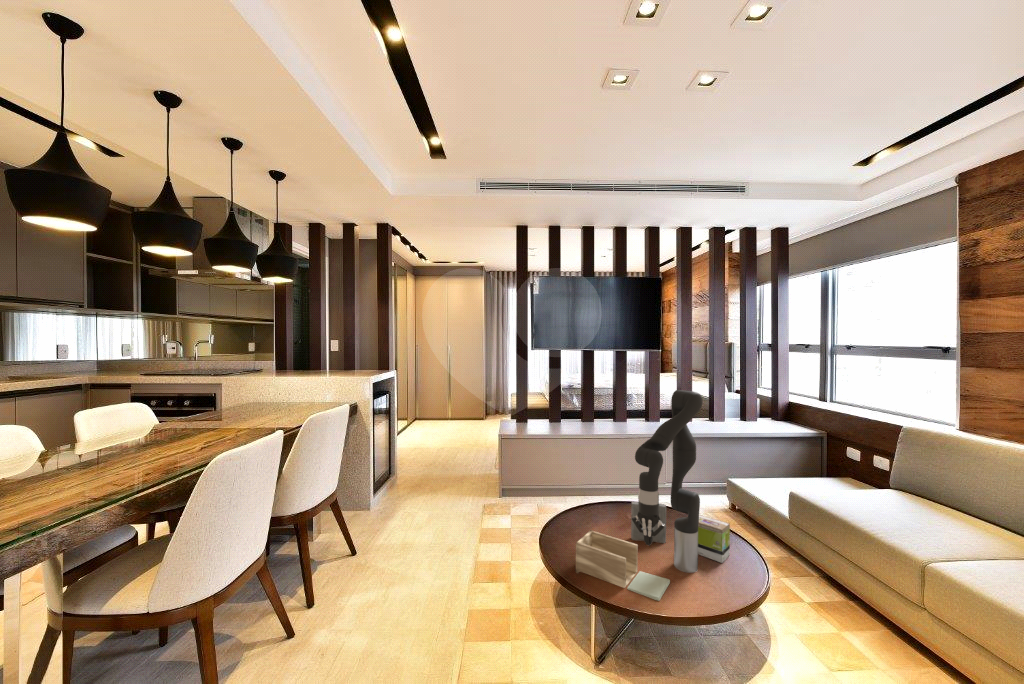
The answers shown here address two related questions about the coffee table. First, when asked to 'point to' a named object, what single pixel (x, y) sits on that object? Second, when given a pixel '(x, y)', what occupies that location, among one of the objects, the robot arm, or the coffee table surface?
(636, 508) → the hip flask
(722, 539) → the tea box
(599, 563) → the box
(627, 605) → the coffee table surface
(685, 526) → the robot arm
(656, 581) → the flat panel
